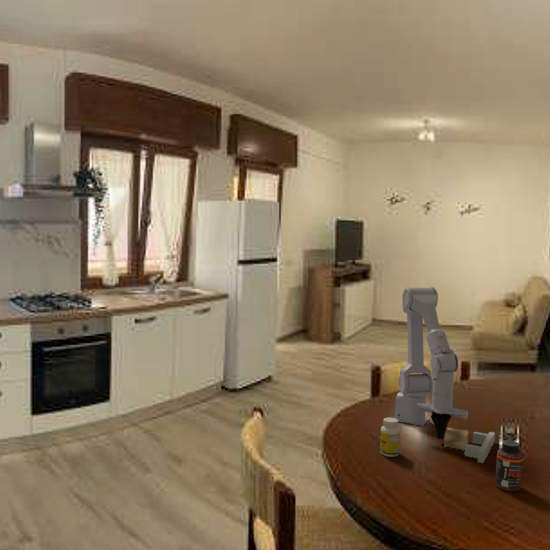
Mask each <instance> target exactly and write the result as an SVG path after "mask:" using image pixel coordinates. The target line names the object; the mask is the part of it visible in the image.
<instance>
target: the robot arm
mask: <svg viewBox="0 0 550 550" xmlns="http://www.w3.org/2000/svg"><path fill="white" fill-rule="evenodd" d="M401 295H402V302H401V303H402V312H403V313H405V314H406V317H407V318H406V319H407V320H406V324H407V328H406V329H407V362H408V363H407V364H406V365H405V366H404V367H402V368H401V369H400V371H399V378H398V388H399V392H398V393H397V395H396V398H395V412H394V413H395V414H394V418H395V419H397V420H398V423H399V422H400V423H404V422H405V423H406V424H409V423H410V424H411V425H416V426H421V427H423V426H425V424H426V423H427V422H428V421H429V420H430V419H431V420H432V422H433V425H434V428H435V432H436V436H437V439H438V440H443V439H445V432H446V430H447V427H448V424H449V422H450V421H451V419H452V417H455V418H459V419H460V418H461V419H463V420H467V419H468V417H469V416H468V415H469V411H468V410H464V409H460V408H456V407H453V396H454V395H453V393H454V391H453V390H454V377H455V373H456V372H457V370H458V368H459V358H458V355H457V354H456V352H455V351H454V349H451V346H450V344H449V341H448V337H447V335H446V332H445V331H444V330H443V329H441V327H440V323H439V318H438V314H437V306H438V303H439V302H438V301H439V293H438V291H437V289H436V288H435V287H434V286H432V287H410V286H407V287H406V288H405V289H404V290H403V292H402V294H401ZM423 324H424V325H425V327H426V330H427V332H428V333H427V335H426V338H425V339H426V341H427V345H428V349H429V352H430V355H431V357H430V361H429V362H430V364H429V365H430V368H431V369H430V368H429V367H428V366H426V365H425V362H424V361H425V359H424V325H423ZM430 393H432V395H431V396H432V397H431V398H432V399H431V400H432V401H431V403H427V398H428V397H427V396H429V394H430ZM426 413H431V416H430V418H429V417H428V416H427V414H426ZM426 416H427V417H426ZM410 424H409V425H410Z"/></svg>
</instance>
